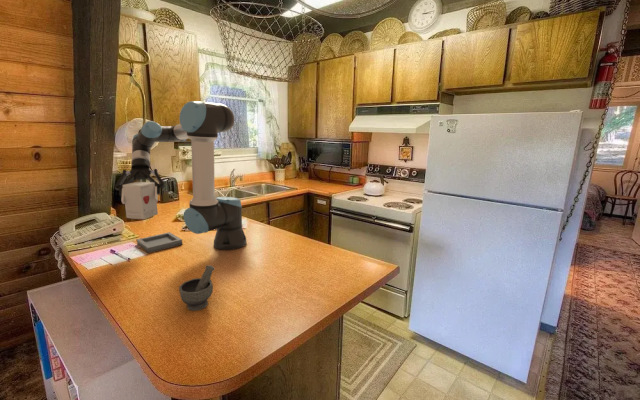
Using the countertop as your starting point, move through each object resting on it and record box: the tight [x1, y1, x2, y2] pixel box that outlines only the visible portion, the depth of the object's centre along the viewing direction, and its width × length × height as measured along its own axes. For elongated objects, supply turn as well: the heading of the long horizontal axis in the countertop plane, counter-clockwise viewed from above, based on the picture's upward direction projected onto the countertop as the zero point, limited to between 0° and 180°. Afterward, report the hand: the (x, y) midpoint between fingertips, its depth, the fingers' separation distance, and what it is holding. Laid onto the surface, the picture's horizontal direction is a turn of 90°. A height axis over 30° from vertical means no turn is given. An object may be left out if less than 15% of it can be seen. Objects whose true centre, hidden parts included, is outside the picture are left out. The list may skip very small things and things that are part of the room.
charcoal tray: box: [136, 231, 183, 254], centre depth 143 cm, size 15×15×2 cm
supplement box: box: [122, 181, 159, 220], centre depth 133 cm, size 9×9×15 cm
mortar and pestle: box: [178, 264, 215, 312], centre depth 94 cm, size 11×9×12 cm
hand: (140, 201), depth 130 cm, fingers closed on supplement box, 12 cm apart
